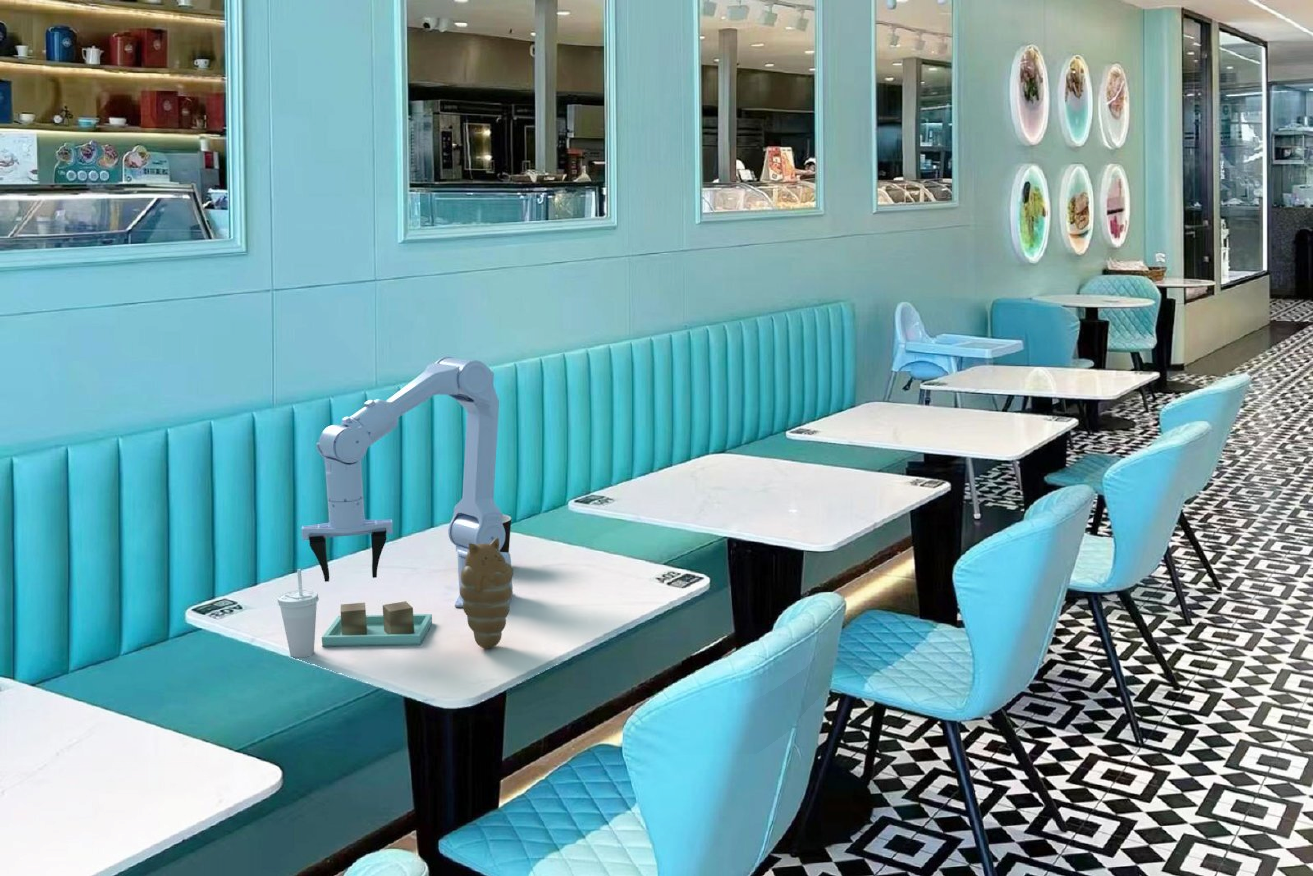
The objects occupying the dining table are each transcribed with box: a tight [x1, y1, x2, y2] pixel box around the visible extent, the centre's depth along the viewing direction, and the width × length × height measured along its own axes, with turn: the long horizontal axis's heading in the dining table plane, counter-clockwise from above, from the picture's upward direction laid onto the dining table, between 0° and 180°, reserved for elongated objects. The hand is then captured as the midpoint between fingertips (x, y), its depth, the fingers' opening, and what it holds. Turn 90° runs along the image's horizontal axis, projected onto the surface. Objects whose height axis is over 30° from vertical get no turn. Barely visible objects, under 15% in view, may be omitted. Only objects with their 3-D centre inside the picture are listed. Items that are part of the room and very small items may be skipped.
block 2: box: [382, 600, 414, 635], centre depth 220 cm, size 4×4×4 cm
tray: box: [321, 613, 433, 648], centre depth 220 cm, size 16×11×2 cm
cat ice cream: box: [459, 538, 514, 649], centre depth 211 cm, size 9×8×18 cm
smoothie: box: [276, 568, 320, 658], centre depth 210 cm, size 6×6×14 cm
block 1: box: [340, 602, 367, 635], centre depth 220 cm, size 4×4×4 cm
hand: (350, 578), depth 218 cm, fingers open, 7 cm apart
